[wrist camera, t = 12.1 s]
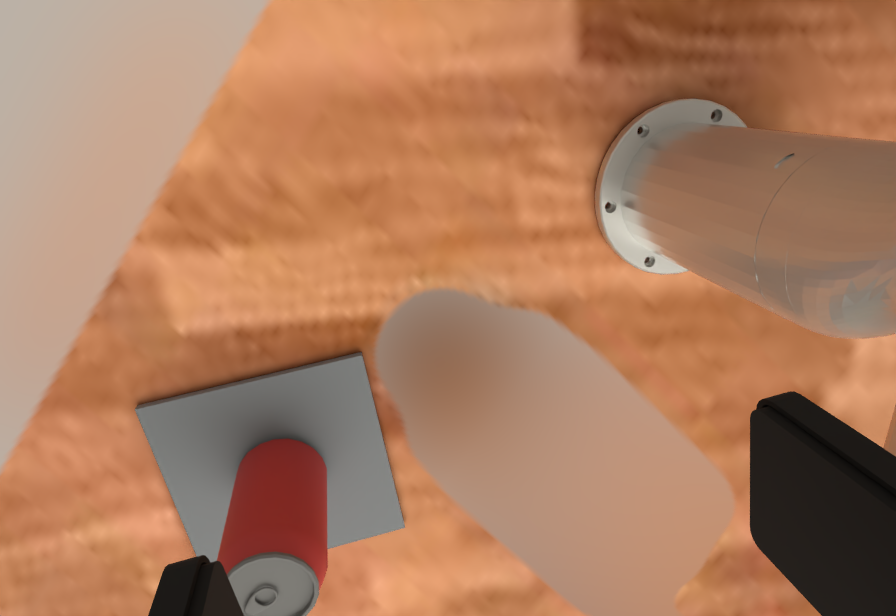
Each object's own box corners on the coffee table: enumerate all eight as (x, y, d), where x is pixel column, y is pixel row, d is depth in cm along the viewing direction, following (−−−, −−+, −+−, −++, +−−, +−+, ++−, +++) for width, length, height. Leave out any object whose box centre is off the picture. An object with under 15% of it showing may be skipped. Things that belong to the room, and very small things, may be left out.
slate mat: (361, 351, 44) (361, 355, 44) (404, 522, 50) (405, 527, 50) (137, 405, 43) (134, 409, 42) (208, 576, 49) (207, 581, 48)
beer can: (218, 476, 45) (183, 603, 34) (280, 418, 44) (265, 528, 33) (285, 522, 47) (273, 655, 36) (345, 468, 47) (351, 586, 36)
